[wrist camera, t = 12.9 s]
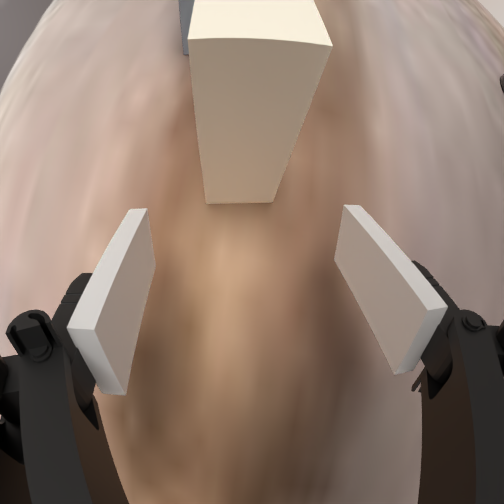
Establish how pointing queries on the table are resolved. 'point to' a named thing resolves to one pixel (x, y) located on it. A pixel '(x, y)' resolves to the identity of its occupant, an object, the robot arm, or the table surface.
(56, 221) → the table surface
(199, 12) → the tile
